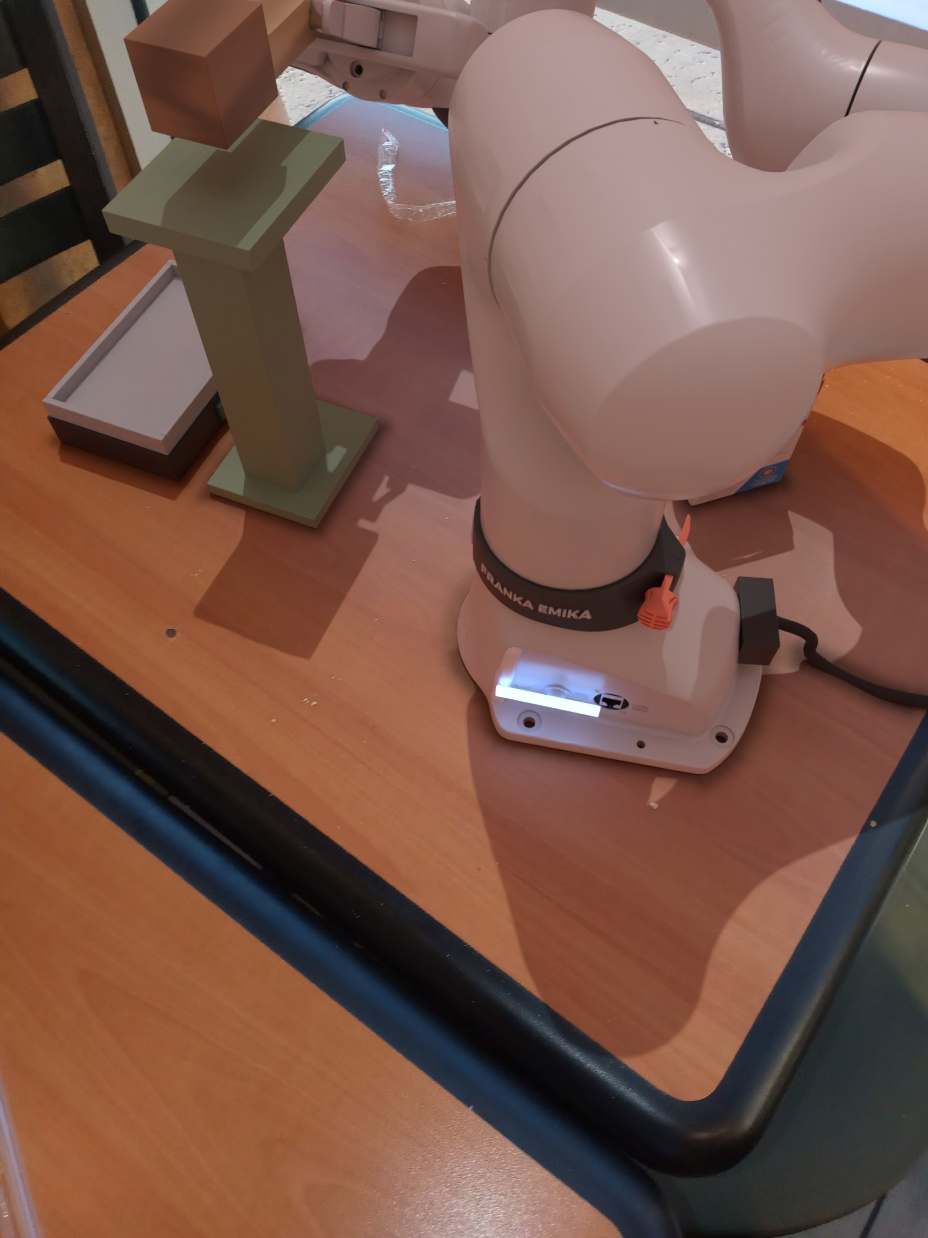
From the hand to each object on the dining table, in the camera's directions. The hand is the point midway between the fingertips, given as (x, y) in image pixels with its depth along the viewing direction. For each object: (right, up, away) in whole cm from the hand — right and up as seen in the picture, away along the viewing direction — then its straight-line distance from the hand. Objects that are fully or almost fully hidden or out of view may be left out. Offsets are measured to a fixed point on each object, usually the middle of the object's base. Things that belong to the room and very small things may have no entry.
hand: (286, 7), depth 56 cm
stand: (-3, -24, +22) cm, 33 cm away
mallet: (-1, -4, 0) cm, 4 cm away
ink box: (+33, -26, +21) cm, 46 cm away
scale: (-15, -16, +27) cm, 35 cm away
